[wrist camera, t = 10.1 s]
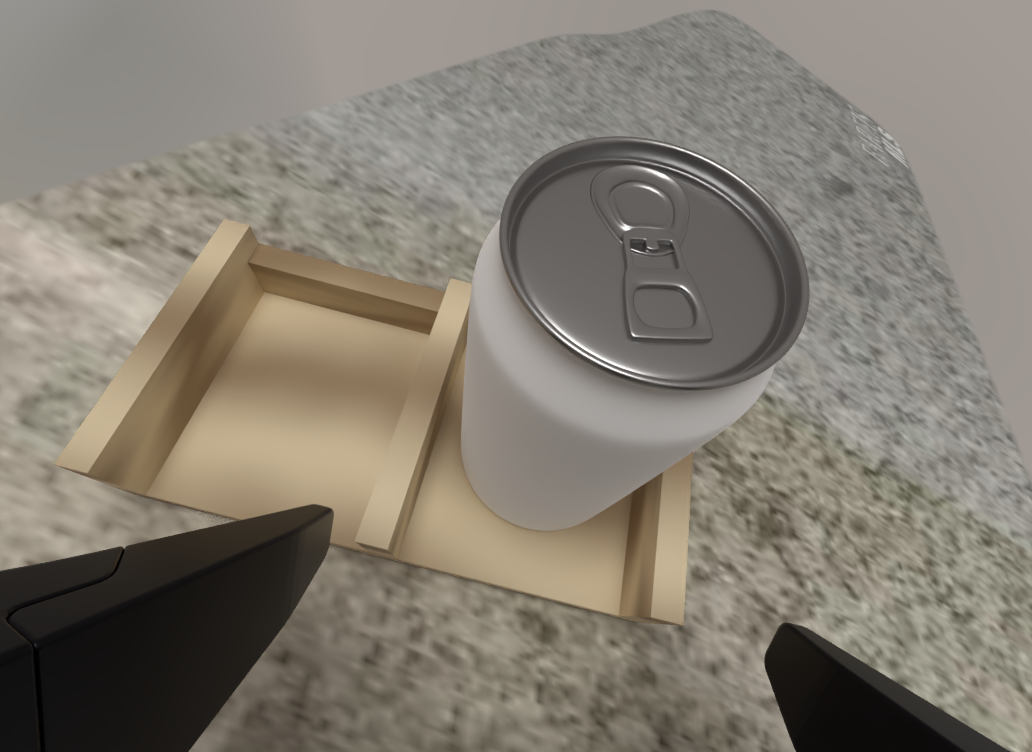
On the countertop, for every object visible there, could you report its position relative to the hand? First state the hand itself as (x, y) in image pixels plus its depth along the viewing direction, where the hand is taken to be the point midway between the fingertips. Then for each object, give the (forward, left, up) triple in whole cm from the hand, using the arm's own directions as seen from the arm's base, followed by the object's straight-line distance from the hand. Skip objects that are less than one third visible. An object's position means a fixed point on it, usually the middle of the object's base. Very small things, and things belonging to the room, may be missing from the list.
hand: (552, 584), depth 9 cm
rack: (+6, +3, -9) cm, 12 cm away
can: (+5, -1, -8) cm, 10 cm away
